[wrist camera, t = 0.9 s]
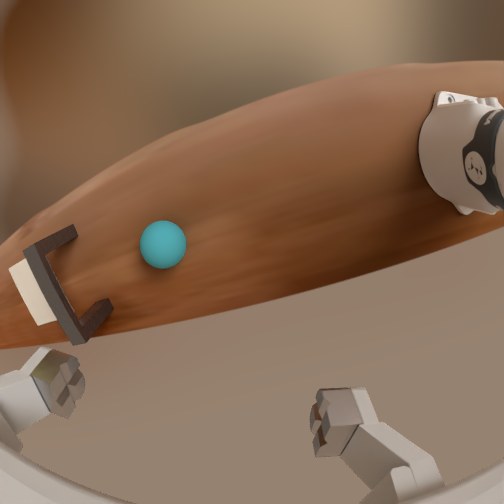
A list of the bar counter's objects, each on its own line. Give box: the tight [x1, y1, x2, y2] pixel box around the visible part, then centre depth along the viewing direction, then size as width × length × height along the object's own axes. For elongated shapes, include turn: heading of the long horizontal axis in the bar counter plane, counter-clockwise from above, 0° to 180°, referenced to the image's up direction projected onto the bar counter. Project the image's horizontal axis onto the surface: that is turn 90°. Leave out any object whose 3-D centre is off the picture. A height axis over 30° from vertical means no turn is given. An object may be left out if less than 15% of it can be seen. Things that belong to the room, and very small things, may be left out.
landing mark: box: [9, 256, 74, 326], centre depth 42 cm, size 13×13×1 cm
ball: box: [140, 221, 186, 269], centre depth 35 cm, size 6×6×6 cm
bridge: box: [23, 224, 114, 345], centre depth 35 cm, size 3×15×10 cm, turn 19°
